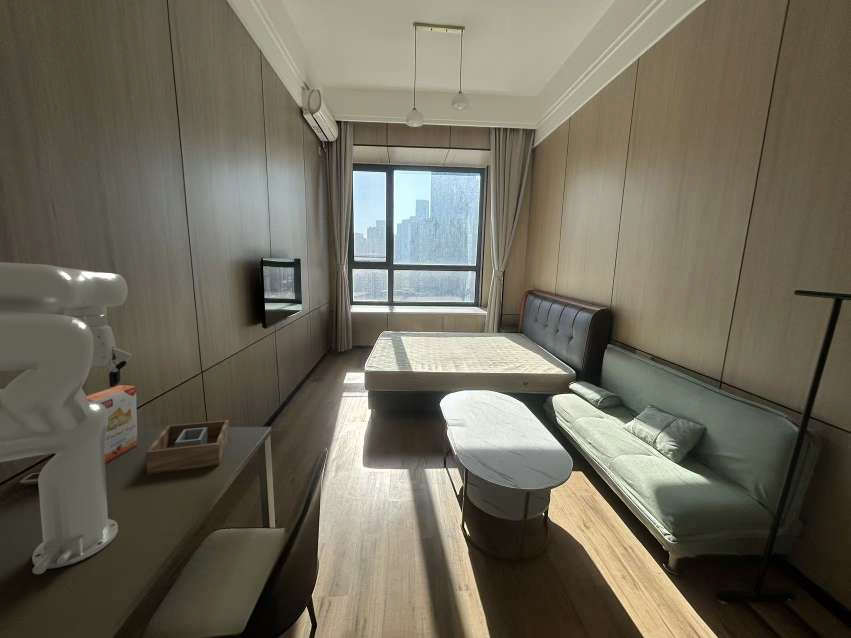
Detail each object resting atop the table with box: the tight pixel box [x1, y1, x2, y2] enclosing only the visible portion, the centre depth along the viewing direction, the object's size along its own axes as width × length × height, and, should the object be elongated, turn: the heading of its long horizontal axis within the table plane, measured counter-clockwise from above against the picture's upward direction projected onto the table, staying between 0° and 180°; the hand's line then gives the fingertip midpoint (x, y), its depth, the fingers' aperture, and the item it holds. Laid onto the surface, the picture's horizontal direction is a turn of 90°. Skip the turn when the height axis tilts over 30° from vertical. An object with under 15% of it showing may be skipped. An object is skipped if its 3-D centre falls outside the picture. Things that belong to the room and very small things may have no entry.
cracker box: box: [86, 384, 138, 464], centre depth 102 cm, size 14×6×21 cm, turn 179°
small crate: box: [175, 427, 207, 448], centre depth 106 cm, size 9×7×6 cm
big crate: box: [145, 419, 230, 476], centre depth 106 cm, size 18×18×7 cm
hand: (90, 386), depth 85 cm, fingers open, 9 cm apart
